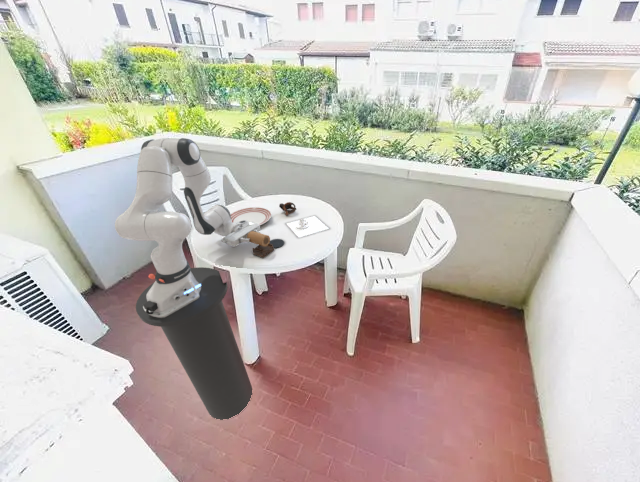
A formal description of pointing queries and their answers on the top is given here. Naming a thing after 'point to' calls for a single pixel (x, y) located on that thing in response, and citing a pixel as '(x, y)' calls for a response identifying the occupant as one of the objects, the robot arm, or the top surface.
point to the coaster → (277, 243)
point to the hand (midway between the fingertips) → (254, 237)
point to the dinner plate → (251, 215)
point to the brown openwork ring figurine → (288, 206)
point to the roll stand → (263, 250)
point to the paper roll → (259, 238)
